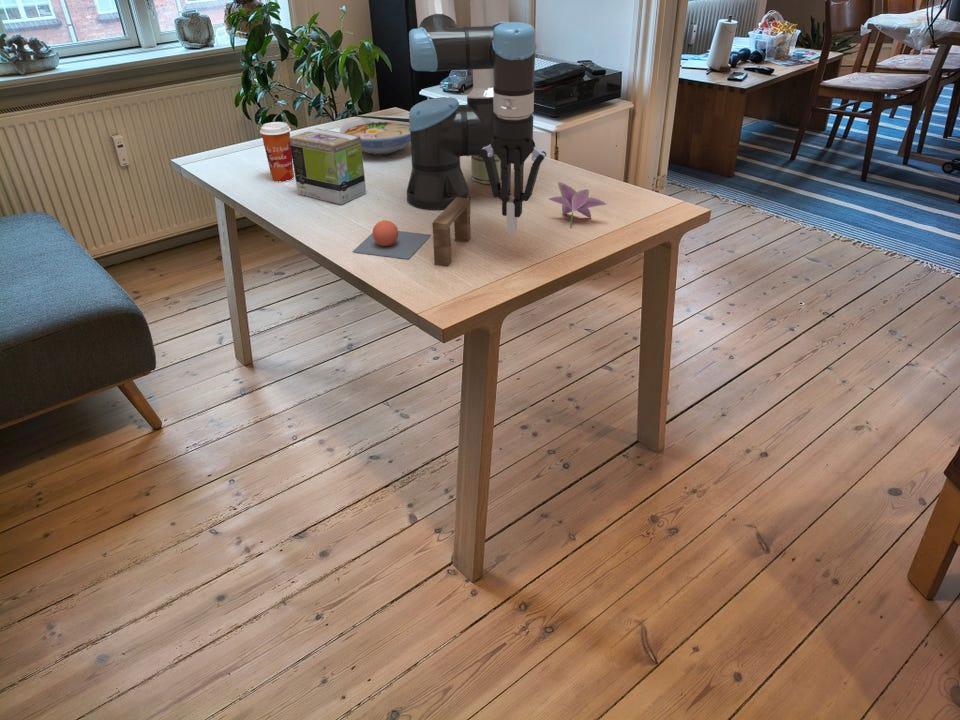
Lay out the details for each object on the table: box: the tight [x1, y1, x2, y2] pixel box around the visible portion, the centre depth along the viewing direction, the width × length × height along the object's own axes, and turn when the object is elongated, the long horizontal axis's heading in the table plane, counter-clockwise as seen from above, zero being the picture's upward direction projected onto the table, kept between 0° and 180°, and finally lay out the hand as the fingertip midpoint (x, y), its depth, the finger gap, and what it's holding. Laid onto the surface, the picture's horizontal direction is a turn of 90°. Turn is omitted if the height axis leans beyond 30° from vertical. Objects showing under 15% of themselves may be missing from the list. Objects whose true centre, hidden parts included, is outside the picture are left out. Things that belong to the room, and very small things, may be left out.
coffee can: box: [470, 154, 502, 185], centre depth 194 cm, size 10×10×14 cm
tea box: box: [289, 127, 367, 205], centre depth 185 cm, size 15×10×15 cm, turn 57°
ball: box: [371, 219, 399, 246], centre depth 161 cm, size 6×6×6 cm
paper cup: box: [259, 121, 295, 183], centre depth 196 cm, size 8×8×14 cm
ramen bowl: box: [339, 114, 411, 156], centre depth 216 cm, size 25×23×8 cm
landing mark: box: [351, 230, 432, 261], centre depth 163 cm, size 13×13×1 cm
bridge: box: [431, 197, 472, 267], centre depth 157 cm, size 3×14×9 cm, turn 162°
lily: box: [548, 181, 607, 229], centre depth 170 cm, size 12×12×10 cm
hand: (511, 230), depth 153 cm, fingers closed
